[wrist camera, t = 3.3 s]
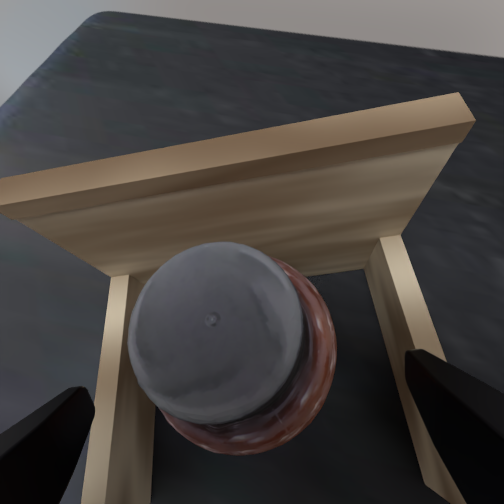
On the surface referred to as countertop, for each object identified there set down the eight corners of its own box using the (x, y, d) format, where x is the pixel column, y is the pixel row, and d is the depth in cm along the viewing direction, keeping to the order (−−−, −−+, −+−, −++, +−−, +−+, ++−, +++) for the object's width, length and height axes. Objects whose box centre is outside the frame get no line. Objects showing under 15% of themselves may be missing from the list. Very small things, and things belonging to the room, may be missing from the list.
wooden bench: (447, 482, 13) (858, 734, 3) (131, 504, 14) (-205, 724, 5) (375, 250, 18) (458, 92, 9) (147, 282, 20) (1, 178, 10)
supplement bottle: (270, 291, 18) (233, 165, 8) (345, 368, 16) (425, 324, 6) (195, 359, 17) (44, 311, 7) (263, 453, 15) (180, 589, 5)
